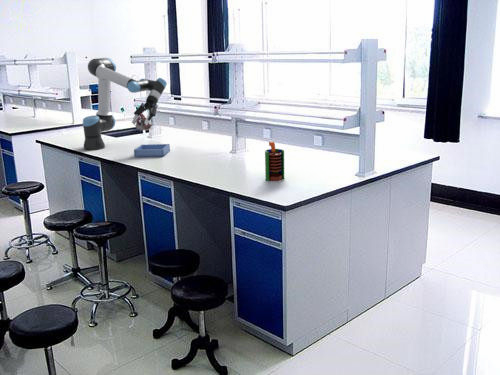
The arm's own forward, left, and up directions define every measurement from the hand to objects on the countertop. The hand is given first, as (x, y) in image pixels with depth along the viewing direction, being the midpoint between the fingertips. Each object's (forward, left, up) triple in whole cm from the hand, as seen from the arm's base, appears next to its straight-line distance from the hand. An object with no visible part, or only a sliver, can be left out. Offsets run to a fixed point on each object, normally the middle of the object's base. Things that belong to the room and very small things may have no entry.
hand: (139, 123), depth 344 cm
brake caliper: (+2, +3, -5) cm, 6 cm away
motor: (+93, -70, -21) cm, 118 cm away
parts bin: (+7, 0, -21) cm, 22 cm away
